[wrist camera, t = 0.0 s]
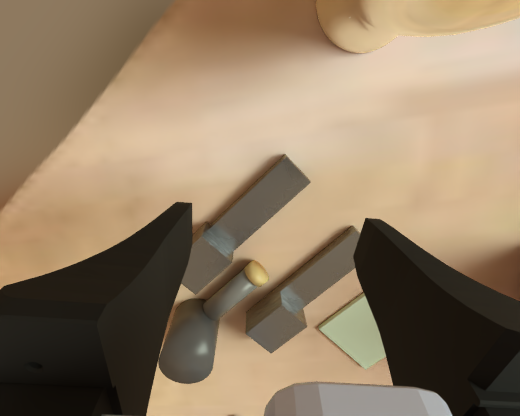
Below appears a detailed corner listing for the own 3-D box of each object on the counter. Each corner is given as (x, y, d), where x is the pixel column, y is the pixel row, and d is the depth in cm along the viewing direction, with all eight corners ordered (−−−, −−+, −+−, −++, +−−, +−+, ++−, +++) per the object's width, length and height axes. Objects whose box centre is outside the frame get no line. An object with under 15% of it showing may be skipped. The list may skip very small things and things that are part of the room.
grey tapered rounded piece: (199, 341, 28) (188, 391, 24) (165, 317, 27) (147, 364, 22) (276, 278, 26) (281, 319, 21) (242, 248, 25) (240, 285, 20)
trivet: (364, 366, 30) (365, 369, 29) (318, 326, 28) (319, 329, 28) (434, 319, 28) (436, 322, 28) (389, 273, 26) (391, 276, 26)
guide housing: (269, 330, 28) (271, 353, 26) (173, 253, 25) (164, 270, 22) (374, 249, 25) (388, 266, 23) (281, 150, 22) (285, 157, 20)
